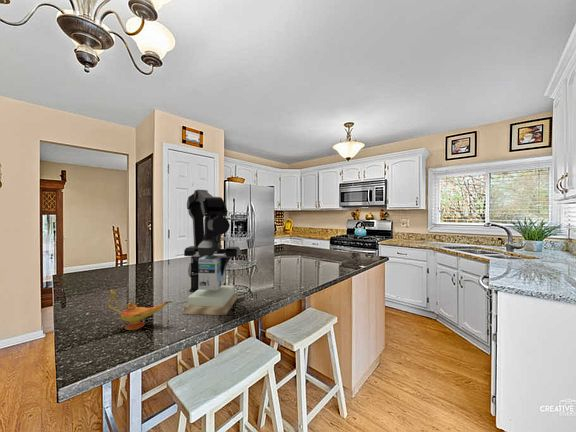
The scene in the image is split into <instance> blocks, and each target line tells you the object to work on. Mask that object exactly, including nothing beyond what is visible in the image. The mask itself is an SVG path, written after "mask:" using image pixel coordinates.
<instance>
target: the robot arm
mask: <svg viewBox="0 0 576 432" xmlns="http://www.w3.org/2000/svg"><path fill="white" fill-rule="evenodd" d="M186 209H187V210H188V215H189V217H190V218H191V219H192V232H193V245H191V246H188V247H185V249H184V252H183V256H184V257H190V262H189V264H188V269H187V274H188V275H187V276H189V278H190V289H189V292H195V291H197V290H198V289H199V259H200V258H202V257H204V256H212V255H213V254H223V255H224V256H223V257H222V269H221V275H222V276H223V275H224V272H225V273H226V269H227V267H228V264H229V261H230V260H231V259H232V258H236V257H238V256H240V254H241V248H240V247H239V246H227V247H226V248H222V247H223V245H222V237H223V235H224V234H226V233H228V231H229V230H230V227H231V226H230V225H231V224H230V221H229V220H228V219H227V218H226V217H227V216H228V208H227V205H226V203H225V201H224V200H223V198H222V197H219V196H213V195H212V194H211V193H209V191H208V190H206V189H195V190H194V191H193V193H192V194H191V195H189V196H188V197H187V201H186Z"/></svg>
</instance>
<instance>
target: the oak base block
mask: <svg viewBox="0 0 576 432" xmlns="http://www.w3.org/2000/svg"><path fill="white" fill-rule="evenodd" d="M238 298H239V297H238V292H236V291H235V293H234V295H233V296H232V297H231V298H230V299H229V301H228V302H227V303H226V304H225V305H224V307H207V306H188V303H187V304H186V305H185V306H184V307H183V314H184V315H213V316H226V315H228V313H229V311H230V310H231V308H232V307H233V306H234V304H235V303H236V301H237V300H238Z"/></svg>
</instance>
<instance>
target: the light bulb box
mask: <svg viewBox="0 0 576 432" xmlns="http://www.w3.org/2000/svg"><path fill="white" fill-rule="evenodd" d="M223 256H224V255H223V254H213V255H212V256H204V257H202V258H200V259H199V290H217V289H219V288H220V287H221V286H222V285H225V283H226V271H225V272H224V275H223V276H222V275H221V269H222V257H223Z"/></svg>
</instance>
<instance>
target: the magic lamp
mask: <svg viewBox="0 0 576 432" xmlns="http://www.w3.org/2000/svg"><path fill="white" fill-rule="evenodd" d="M116 294H117V293H116V291H115V290H113V289H111V290H110V293H109V296H110V298H109V299H108V302H106V303H107V307H108V308H109V309H111V310H113V311H114V312H117V313H118V314H120V317H119V318H118V317H116V319H117V320H120V319H121V320H123V321H124V322H129V323H128V324H126V325H125V327H124V329H125V330H128V331H131V330H138V329H140V328H142V327H143V326H145V322H143V321H141V320H143V319H145V318H148V317H150V316H152V315H154V314H155V313H157V312H158V311H160V310H162V308H164V307H165V306H166V305H168V304H170V303H173V301H172V300H169V301H165V302H162V303H160V304H157V305H156V306H151V307H146V306H145V307H144V306H137V305H136V304H134V303H133V300H131V301H129V304H128V305H126V306H123V307H121V306H120V304H118V301H117V299H116ZM111 300H114V302H115V303H114V304H115V305H116V306H117V307H118V308H119V309H121V310H123V311H120V310H118V309H116V308H113V307H111V306H110V302H111ZM124 309H125V310H124Z"/></svg>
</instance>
